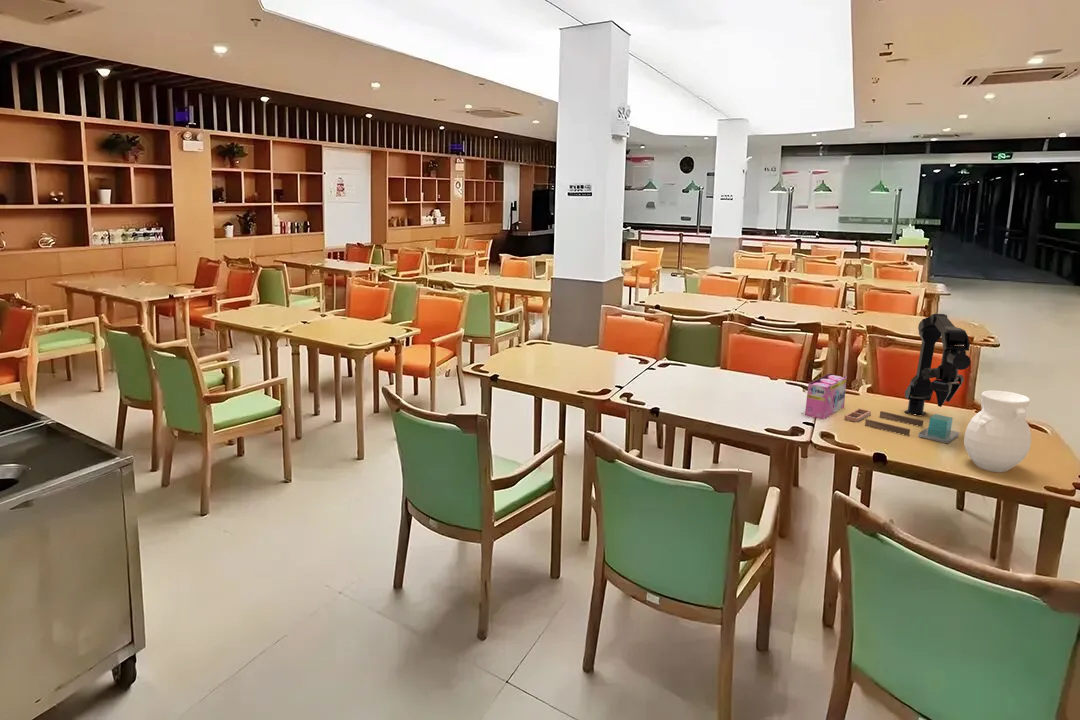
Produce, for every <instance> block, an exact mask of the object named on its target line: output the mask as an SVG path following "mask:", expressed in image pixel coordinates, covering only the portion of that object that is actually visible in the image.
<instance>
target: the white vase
mask: <svg viewBox="0 0 1080 720" xmlns="http://www.w3.org/2000/svg"><path fill="white" fill-rule="evenodd" d="M980 395H981V400H980V406H981V410H979V411H978V412H977V413H976V414H975V415H974V416H973V417H972V418H971V419H970V420H969V423H968V424H967V427H966V429H965V432H964V436H963V437H964V438H963V445H964V449H965V451H966V453H967V455H968V457H969V458H970V459H971V461H972V462H973V464H975V466H976V467H978V468H979V469H982V470H984V471H988V472H992V473H1006V472H1008V471H1009V470H1011V469H1013V468H1015V467H1016V466H1017V465H1019V464H1020V463H1022V461H1023V460H1025V458H1026V457H1027V455H1028V453H1029V451H1030V449H1031V444H1032V432H1031V429H1030V425H1029V424H1028V422H1027V420H1026V416H1027V415H1026V411H1025V410H1026V409H1027V407H1028V406H1029V404H1030V402H1031V399H1030V398H1029V397H1028V396H1026V395H1023V394H1021V393H1017V392H1011V391H1005V390H993V389H991V390H984V391H982V393H981V394H980Z"/></svg>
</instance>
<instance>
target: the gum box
mask: <svg viewBox="0 0 1080 720" xmlns="http://www.w3.org/2000/svg"><path fill="white" fill-rule="evenodd" d="M847 377H848V376H846V375H845V376H843V377H842V376H840V375H834V373H827V374H825V375H823V376H822V377H820V378H818V379H815V380H813V381H811V382H808V383H807V385H808V387H807V392H806V393H807V394H806V400H805V401H806V402H805V403H806V404H805V409H804V410H805V411H804V415H805V416H809V417H813V418H815V419H816V418H817V419H821V420H824V419H825V418H828V417H829V416H831V415H833V414H834V413H836V412H838V411H840V410H841V409H843V408H844V407H845V399H846V391H847V389H846V388H847V379H848V378H847Z"/></svg>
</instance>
